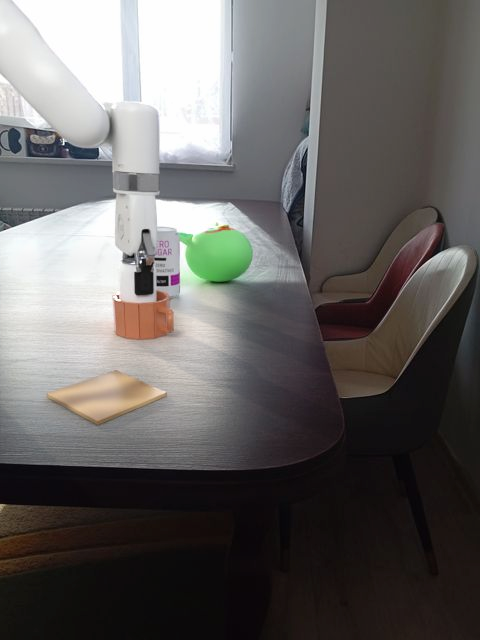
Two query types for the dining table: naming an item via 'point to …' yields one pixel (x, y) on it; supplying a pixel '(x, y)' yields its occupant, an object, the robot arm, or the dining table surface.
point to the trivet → (106, 396)
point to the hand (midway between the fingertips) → (137, 288)
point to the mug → (143, 317)
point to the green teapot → (217, 252)
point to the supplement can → (167, 261)
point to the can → (132, 283)
